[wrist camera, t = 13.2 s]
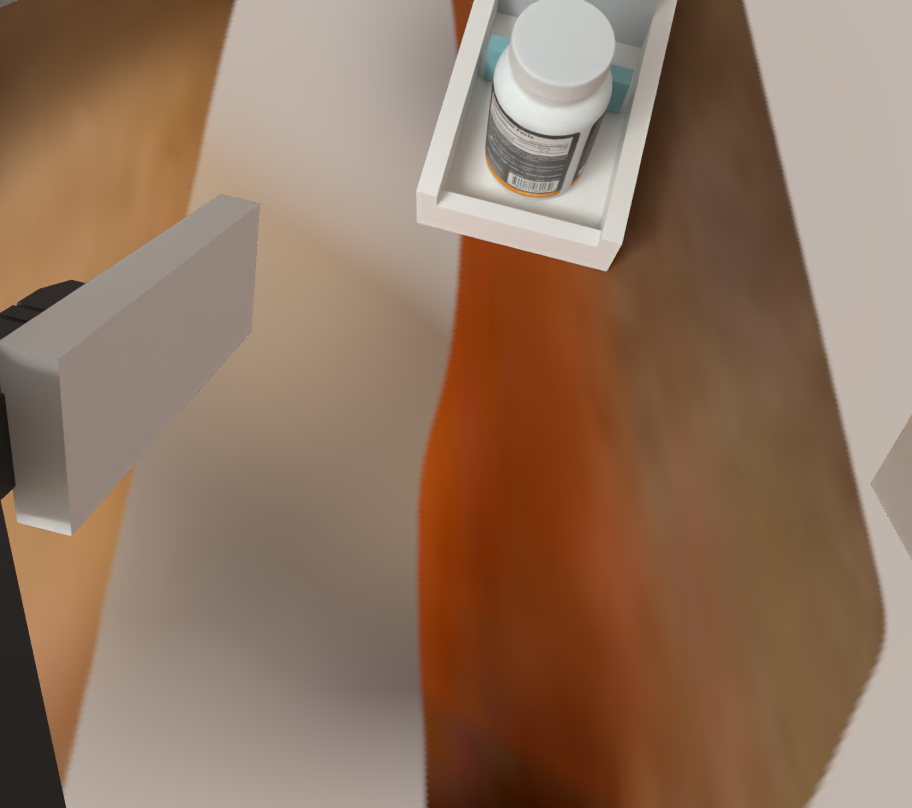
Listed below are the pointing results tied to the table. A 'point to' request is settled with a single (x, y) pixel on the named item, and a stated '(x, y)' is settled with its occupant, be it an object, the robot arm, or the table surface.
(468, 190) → the pusher lane
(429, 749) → the table surface
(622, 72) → the pusher plate
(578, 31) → the pill bottle
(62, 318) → the robot arm
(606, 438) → the table surface
